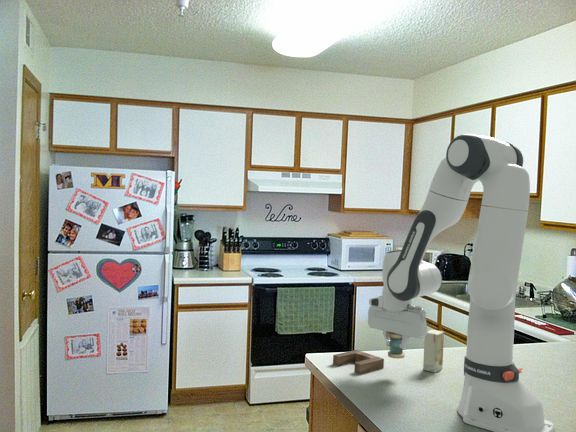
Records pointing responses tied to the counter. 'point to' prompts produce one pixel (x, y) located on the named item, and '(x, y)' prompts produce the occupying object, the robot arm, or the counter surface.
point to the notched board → (359, 361)
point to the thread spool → (395, 346)
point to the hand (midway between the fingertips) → (396, 347)
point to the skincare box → (433, 351)
